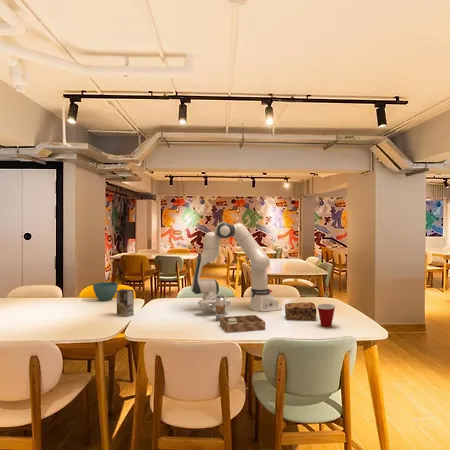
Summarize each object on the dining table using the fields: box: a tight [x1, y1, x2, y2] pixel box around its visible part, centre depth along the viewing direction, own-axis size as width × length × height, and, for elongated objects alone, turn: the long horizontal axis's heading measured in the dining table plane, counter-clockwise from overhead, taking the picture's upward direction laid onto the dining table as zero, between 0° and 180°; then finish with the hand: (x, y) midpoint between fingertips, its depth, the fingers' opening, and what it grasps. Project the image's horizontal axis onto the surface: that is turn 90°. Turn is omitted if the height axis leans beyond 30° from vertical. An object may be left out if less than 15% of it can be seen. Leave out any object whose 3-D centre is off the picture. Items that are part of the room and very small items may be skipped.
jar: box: [228, 318, 237, 324], centre depth 213 cm, size 5×5×6 cm
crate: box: [219, 314, 266, 333], centre depth 217 cm, size 22×16×4 cm
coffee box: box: [116, 288, 135, 317], centre depth 243 cm, size 9×6×16 cm
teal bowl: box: [92, 281, 119, 302], centre depth 289 cm, size 18×18×12 cm
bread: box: [284, 301, 318, 321], centre depth 237 cm, size 19×11×10 cm, turn 86°
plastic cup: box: [316, 303, 336, 328], centre depth 220 cm, size 11×11×12 cm
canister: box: [215, 294, 226, 322], centre depth 232 cm, size 6×6×15 cm
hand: (217, 305), depth 238 cm, fingers open, 8 cm apart
